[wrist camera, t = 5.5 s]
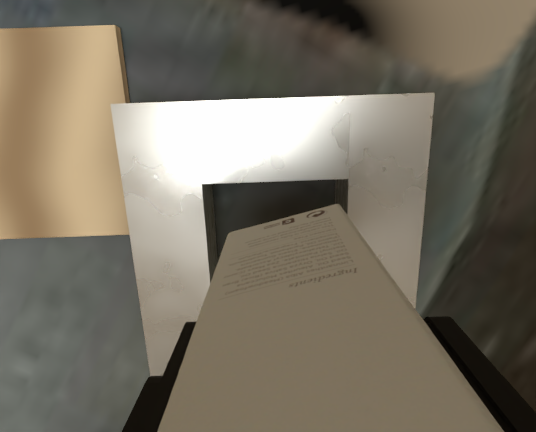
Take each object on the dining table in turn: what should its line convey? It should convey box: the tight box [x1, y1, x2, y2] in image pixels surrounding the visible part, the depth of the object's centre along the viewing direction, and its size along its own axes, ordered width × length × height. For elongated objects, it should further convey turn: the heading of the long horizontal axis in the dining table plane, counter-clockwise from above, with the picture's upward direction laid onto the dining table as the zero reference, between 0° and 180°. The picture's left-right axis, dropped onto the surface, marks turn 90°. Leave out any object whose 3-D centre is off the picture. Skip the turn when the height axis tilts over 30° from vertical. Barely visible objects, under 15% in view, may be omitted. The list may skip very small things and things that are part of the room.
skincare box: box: [157, 204, 504, 432], centre depth 8 cm, size 6×4×12 cm
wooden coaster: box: [0, 25, 130, 239], centre depth 18 cm, size 10×10×1 cm
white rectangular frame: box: [110, 93, 435, 376], centre depth 18 cm, size 14×15×3 cm
